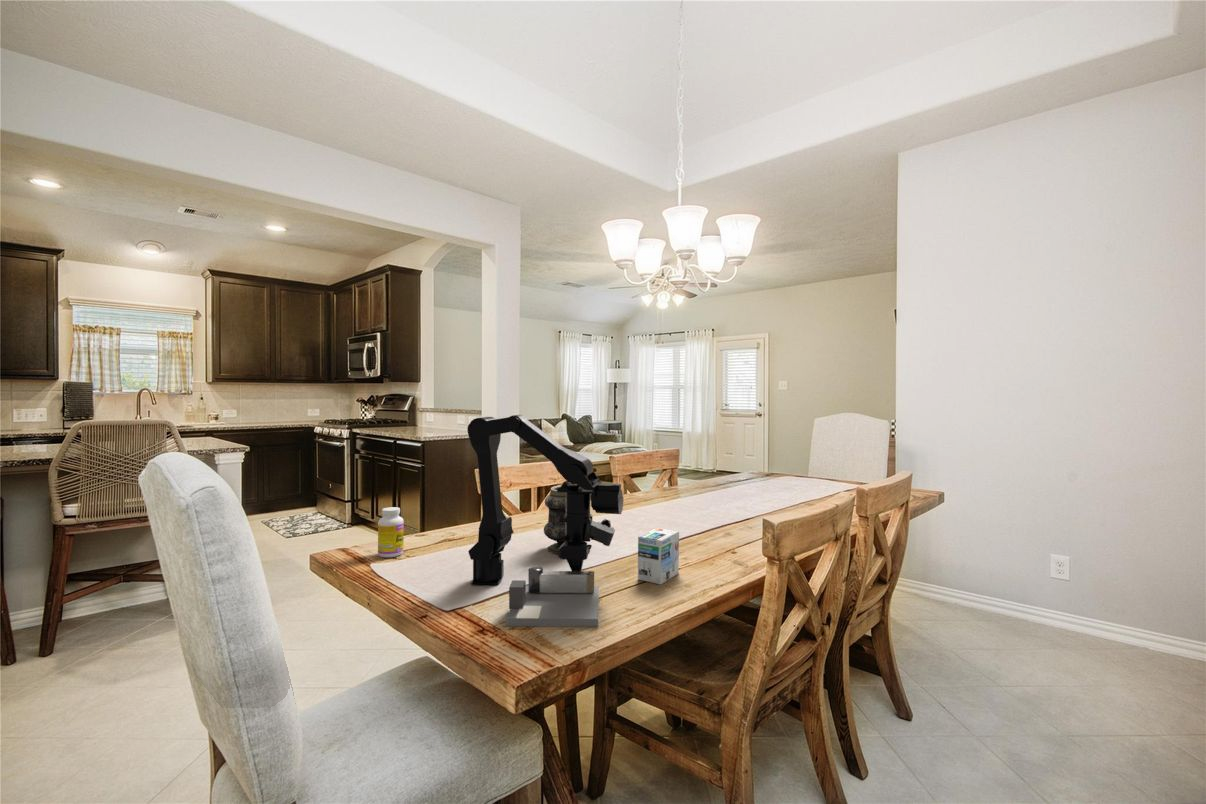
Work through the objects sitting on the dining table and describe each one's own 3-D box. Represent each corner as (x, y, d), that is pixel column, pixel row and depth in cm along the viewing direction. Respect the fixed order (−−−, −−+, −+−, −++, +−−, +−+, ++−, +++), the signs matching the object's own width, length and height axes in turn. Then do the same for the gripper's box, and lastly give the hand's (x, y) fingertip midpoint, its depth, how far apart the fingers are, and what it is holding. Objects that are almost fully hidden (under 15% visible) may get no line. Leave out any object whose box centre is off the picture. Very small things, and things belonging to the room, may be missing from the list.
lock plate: (505, 625, 106) (505, 595, 106) (518, 591, 124) (519, 565, 124) (598, 626, 107) (598, 596, 106) (598, 592, 125) (598, 566, 124)
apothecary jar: (584, 555, 152) (585, 491, 151) (541, 555, 151) (542, 491, 151) (585, 543, 164) (585, 484, 163) (545, 543, 163) (545, 484, 163)
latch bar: (527, 593, 119) (527, 571, 119) (529, 587, 122) (529, 566, 122) (594, 593, 119) (594, 571, 119) (594, 588, 122) (594, 567, 122)
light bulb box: (661, 585, 129) (661, 540, 129) (636, 580, 133) (636, 536, 133) (679, 572, 138) (680, 530, 138) (655, 568, 142) (656, 527, 142)
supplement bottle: (398, 558, 148) (398, 511, 147) (373, 558, 148) (373, 511, 148) (407, 551, 154) (407, 506, 154) (384, 550, 155) (384, 506, 154)
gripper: (610, 522, 116) (609, 594, 116) (615, 504, 134) (614, 566, 135) (558, 520, 117) (557, 592, 117) (570, 502, 135) (569, 565, 136)
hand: (577, 578), depth 126 cm, fingers closed
